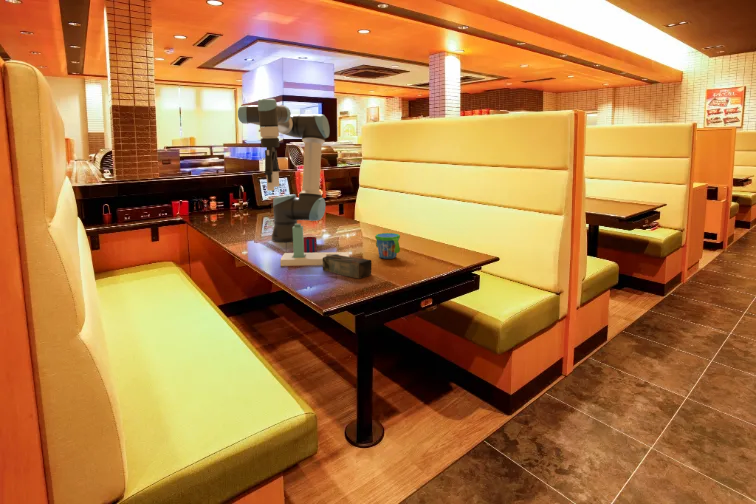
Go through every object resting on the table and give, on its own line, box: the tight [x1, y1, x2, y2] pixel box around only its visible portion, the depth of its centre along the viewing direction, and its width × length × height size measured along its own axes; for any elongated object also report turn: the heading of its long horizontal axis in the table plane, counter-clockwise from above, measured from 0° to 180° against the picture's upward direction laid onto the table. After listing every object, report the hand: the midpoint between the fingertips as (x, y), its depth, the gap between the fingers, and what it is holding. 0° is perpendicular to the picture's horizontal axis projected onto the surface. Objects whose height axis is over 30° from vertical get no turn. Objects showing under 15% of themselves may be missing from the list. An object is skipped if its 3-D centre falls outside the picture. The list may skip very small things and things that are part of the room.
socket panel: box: [280, 251, 350, 268], centre depth 203 cm, size 12×28×3 cm, turn 93°
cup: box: [303, 236, 318, 253], centre depth 221 cm, size 7×10×7 cm
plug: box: [292, 223, 305, 258], centre depth 201 cm, size 4×4×16 cm
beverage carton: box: [322, 254, 372, 280], centre depth 186 cm, size 8×19×7 cm, turn 53°
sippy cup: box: [374, 232, 401, 260], centre depth 210 cm, size 16×10×10 cm
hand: (273, 188), depth 205 cm, fingers open, 13 cm apart
